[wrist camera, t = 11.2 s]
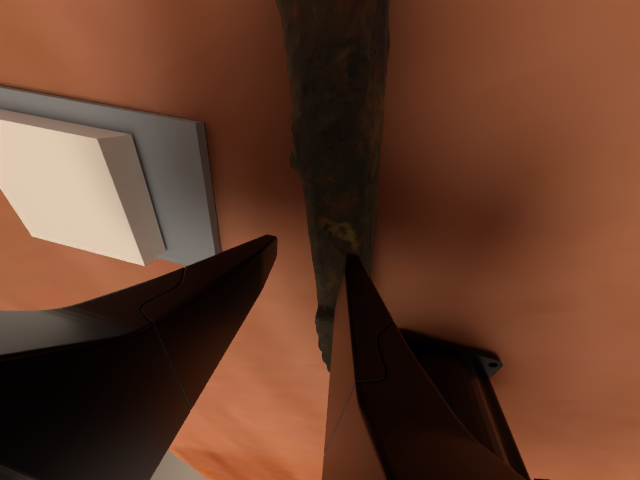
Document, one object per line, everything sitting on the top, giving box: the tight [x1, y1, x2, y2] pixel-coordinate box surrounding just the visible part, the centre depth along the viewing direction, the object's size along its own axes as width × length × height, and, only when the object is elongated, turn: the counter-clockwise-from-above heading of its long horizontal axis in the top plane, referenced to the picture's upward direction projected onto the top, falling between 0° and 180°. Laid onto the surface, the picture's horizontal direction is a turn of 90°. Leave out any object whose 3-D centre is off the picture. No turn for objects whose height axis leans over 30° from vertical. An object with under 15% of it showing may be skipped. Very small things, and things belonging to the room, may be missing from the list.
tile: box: [0, 109, 166, 266], centre depth 13 cm, size 2×7×8 cm
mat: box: [0, 85, 221, 266], centre depth 13 cm, size 12×9×1 cm
